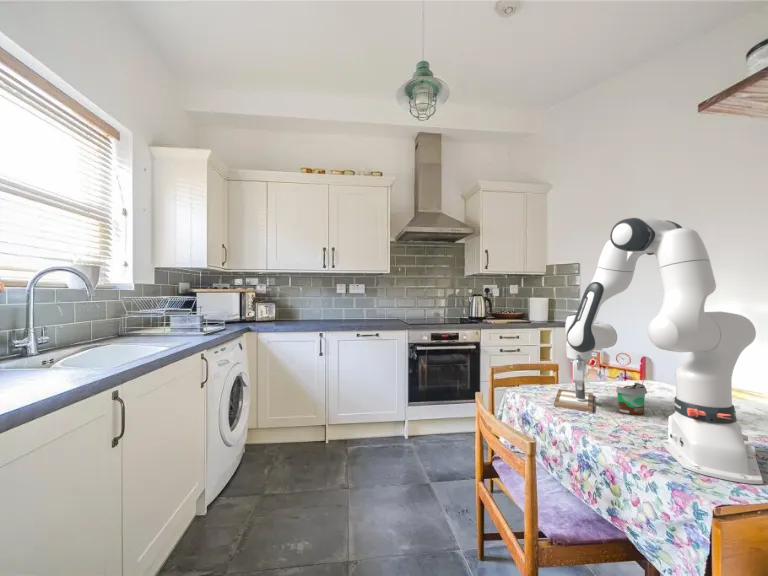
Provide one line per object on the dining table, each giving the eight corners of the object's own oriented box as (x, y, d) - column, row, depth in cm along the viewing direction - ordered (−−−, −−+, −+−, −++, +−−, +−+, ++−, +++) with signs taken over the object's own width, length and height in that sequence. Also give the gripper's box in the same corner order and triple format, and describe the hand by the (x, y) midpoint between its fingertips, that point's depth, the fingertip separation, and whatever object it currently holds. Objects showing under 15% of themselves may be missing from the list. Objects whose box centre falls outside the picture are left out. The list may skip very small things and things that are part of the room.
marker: (585, 401, 127) (584, 370, 127) (575, 399, 128) (574, 370, 129) (585, 398, 129) (584, 369, 130) (575, 397, 131) (574, 368, 131)
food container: (635, 419, 112) (634, 391, 113) (617, 413, 118) (615, 386, 118) (655, 413, 117) (654, 386, 118) (636, 408, 123) (635, 382, 123)
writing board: (592, 412, 120) (592, 408, 120) (553, 406, 127) (553, 403, 127) (592, 395, 138) (592, 392, 138) (558, 391, 146) (558, 388, 146)
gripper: (587, 359, 119) (589, 396, 119) (588, 350, 136) (589, 382, 136) (567, 357, 122) (569, 393, 122) (571, 349, 139) (572, 380, 139)
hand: (580, 387), depth 129 cm, fingers closed on marker, 3 cm apart
